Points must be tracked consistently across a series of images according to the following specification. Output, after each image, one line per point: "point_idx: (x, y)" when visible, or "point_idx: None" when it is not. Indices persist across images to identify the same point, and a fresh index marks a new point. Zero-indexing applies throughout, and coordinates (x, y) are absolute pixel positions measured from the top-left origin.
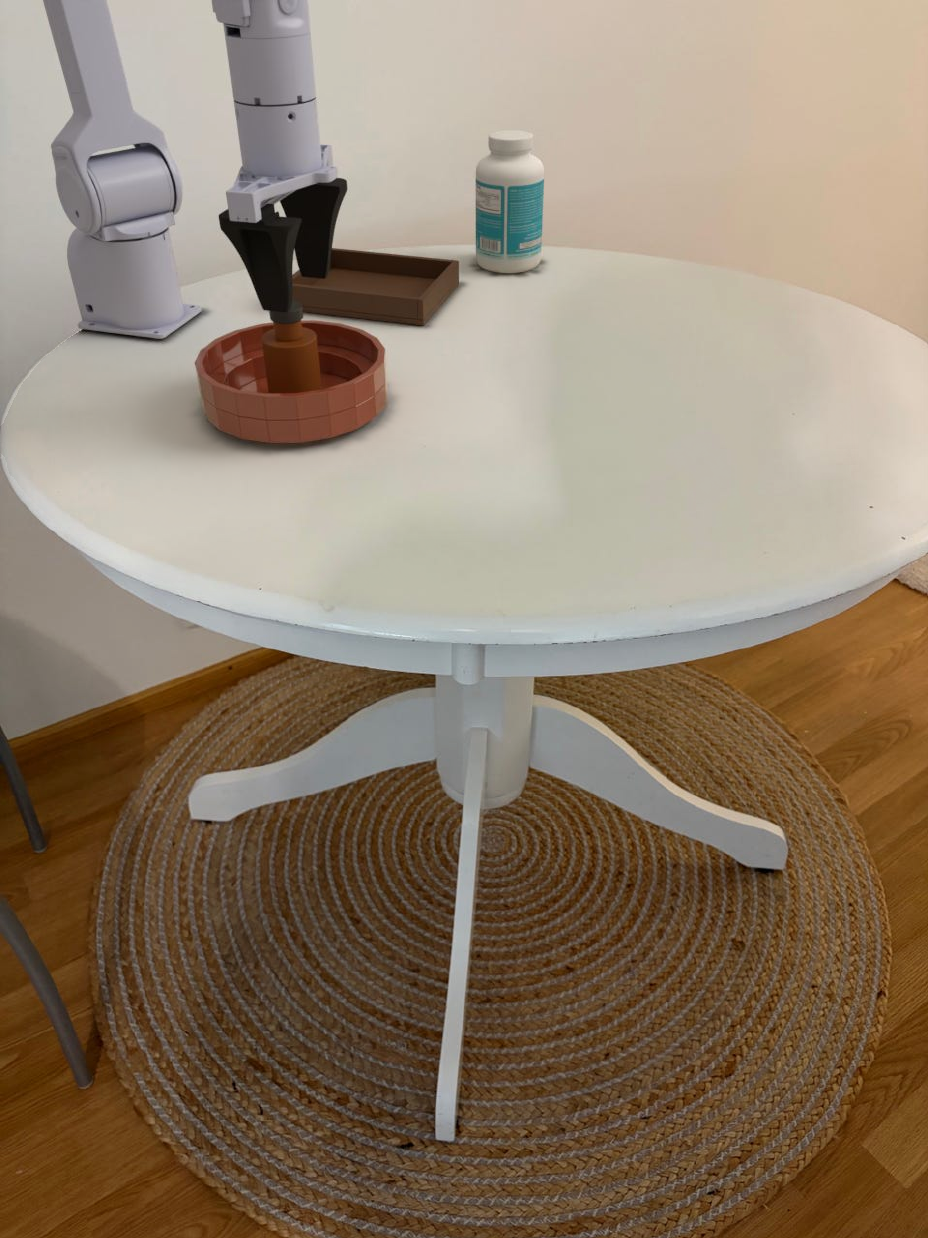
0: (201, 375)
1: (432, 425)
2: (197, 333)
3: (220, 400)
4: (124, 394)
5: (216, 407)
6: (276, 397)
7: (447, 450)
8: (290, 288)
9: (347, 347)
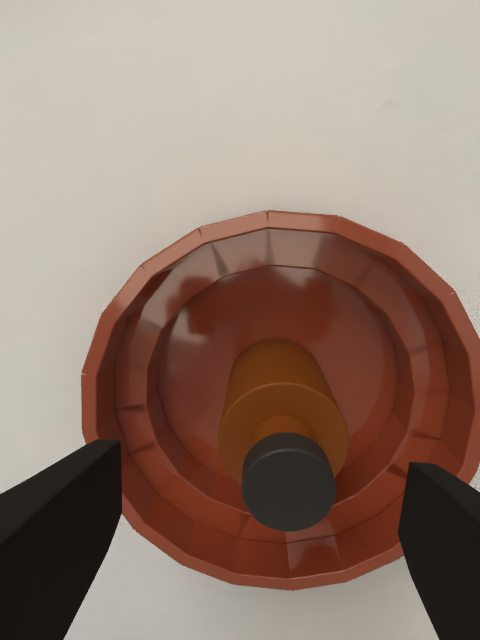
0: None
1: (301, 110)
2: None
3: None
4: (286, 631)
5: None
6: None
7: (398, 52)
8: (473, 496)
9: (120, 340)
